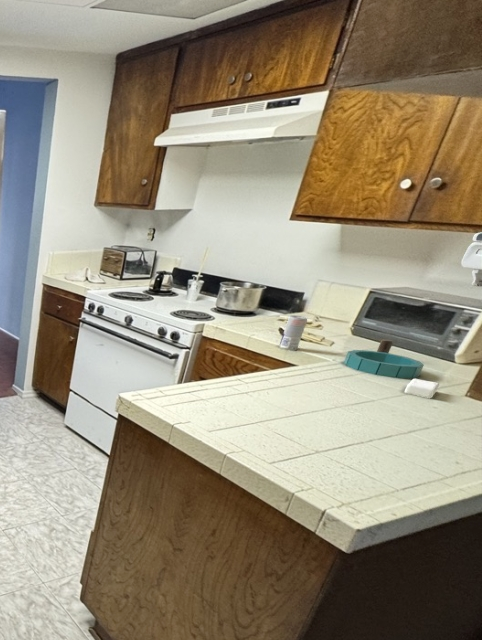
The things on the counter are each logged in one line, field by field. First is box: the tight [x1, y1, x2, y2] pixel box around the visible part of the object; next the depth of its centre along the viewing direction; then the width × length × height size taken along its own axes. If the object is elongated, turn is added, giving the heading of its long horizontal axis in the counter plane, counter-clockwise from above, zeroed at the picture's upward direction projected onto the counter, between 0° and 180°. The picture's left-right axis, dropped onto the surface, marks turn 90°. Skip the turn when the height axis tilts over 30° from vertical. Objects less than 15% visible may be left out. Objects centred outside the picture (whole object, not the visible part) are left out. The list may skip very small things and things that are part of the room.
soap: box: [404, 378, 440, 399], centre depth 133 cm, size 9×6×3 cm, turn 127°
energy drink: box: [278, 315, 308, 351], centre depth 173 cm, size 5×5×12 cm
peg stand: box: [376, 338, 394, 353], centre depth 165 cm, size 7×7×6 cm
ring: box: [343, 349, 425, 379], centre depth 153 cm, size 17×17×4 cm
